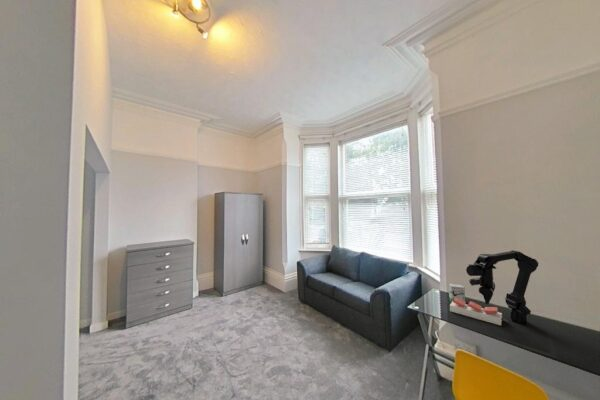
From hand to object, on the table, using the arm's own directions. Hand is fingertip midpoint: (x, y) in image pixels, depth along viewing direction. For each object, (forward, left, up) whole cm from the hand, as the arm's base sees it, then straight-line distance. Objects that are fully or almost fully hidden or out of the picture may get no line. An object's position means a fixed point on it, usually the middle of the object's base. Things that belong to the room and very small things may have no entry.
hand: (487, 301), depth 130 cm
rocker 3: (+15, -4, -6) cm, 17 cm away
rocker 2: (+7, -4, -6) cm, 10 cm away
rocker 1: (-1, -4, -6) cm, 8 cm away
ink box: (+19, -20, -12) cm, 30 cm away
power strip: (+7, -4, -12) cm, 14 cm away
